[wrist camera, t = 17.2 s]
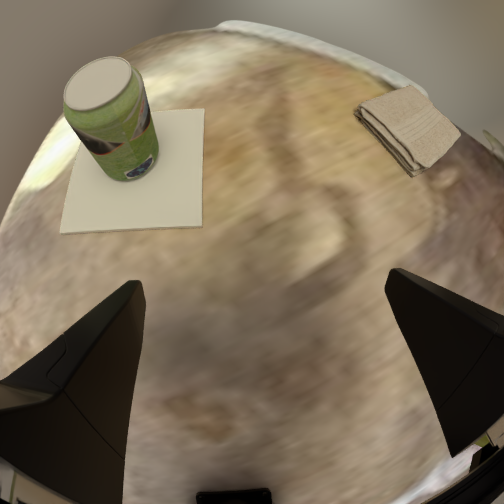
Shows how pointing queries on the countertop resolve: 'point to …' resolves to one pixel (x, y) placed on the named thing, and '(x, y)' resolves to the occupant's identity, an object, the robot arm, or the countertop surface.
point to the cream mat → (142, 184)
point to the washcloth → (408, 128)
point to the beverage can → (112, 117)
